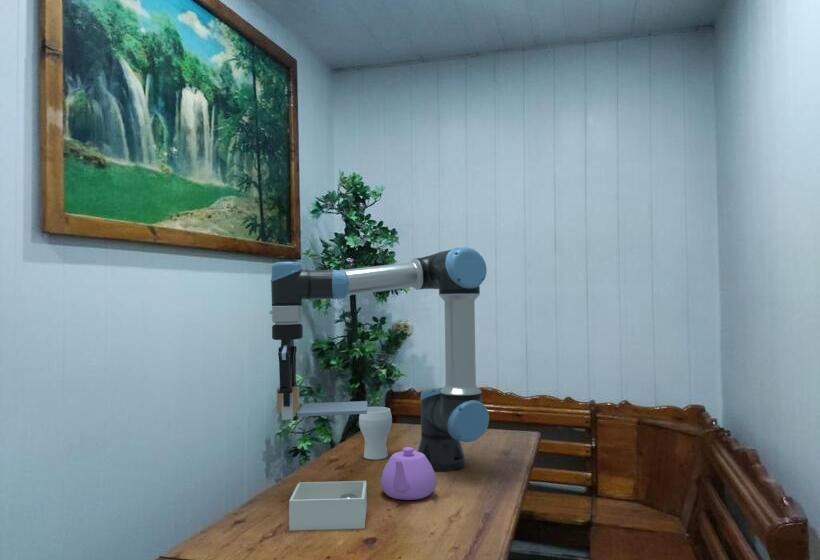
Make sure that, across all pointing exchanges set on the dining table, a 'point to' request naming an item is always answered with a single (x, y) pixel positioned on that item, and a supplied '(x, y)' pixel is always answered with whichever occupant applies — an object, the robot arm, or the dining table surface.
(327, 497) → the tub
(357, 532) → the dining table surface
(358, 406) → the lid
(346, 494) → the slug
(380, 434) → the cup
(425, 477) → the teapot
